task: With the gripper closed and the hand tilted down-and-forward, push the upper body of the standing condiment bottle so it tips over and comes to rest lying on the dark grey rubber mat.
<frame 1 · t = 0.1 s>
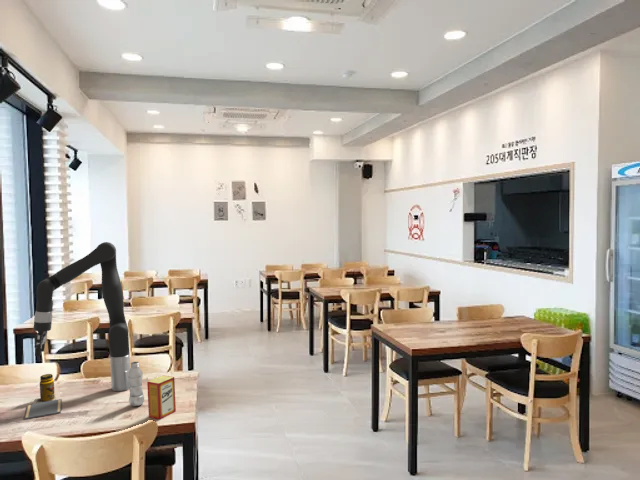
hand: (39, 353, 237), 22 cm above the table, tool pointing down, fingers open, 8 cm apart
condiment: (45, 400, 237), on the table
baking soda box: (162, 414, 215), on the table
plastic bottle: (136, 405, 227), on the table
mat: (43, 409, 225), on the table
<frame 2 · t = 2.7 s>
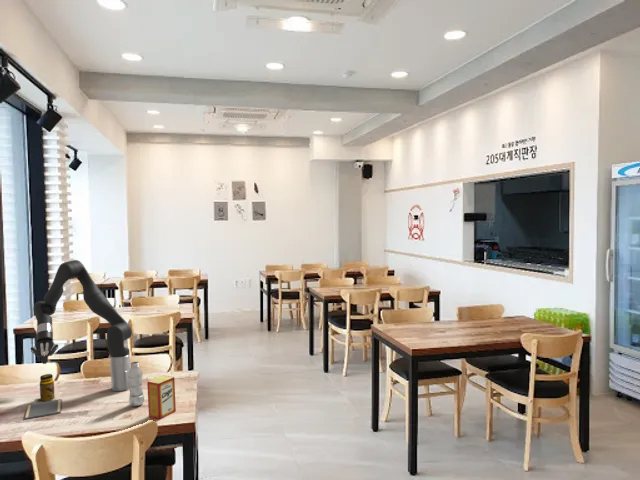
hand: (44, 363, 245), 15 cm above the table, tool tilted 45°, fingers closed
nothing on the table moved.
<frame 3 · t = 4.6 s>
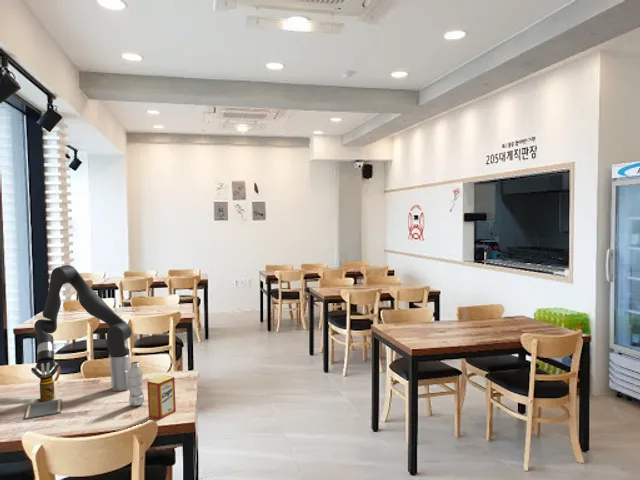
hand: (45, 384, 239), 7 cm above the table, tool tilted 45°, fingers closed
condiment: (45, 400, 236), on the table, touching gripper, mat
everything else where it was.
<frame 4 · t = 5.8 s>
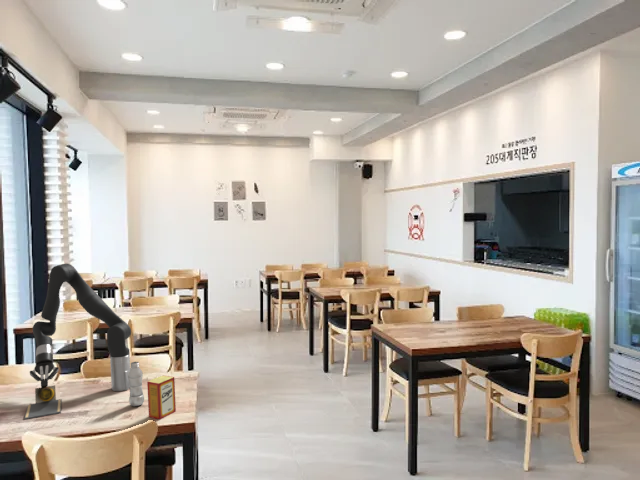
hand: (44, 387, 233), 7 cm above the table, tool tilted 45°, fingers closed
condiment: (45, 394, 234), point 3 cm above the table, touching gripper
everything else where it was.
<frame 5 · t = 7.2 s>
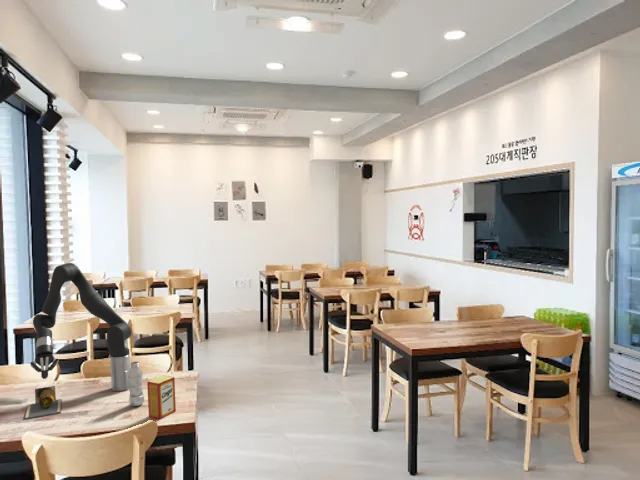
hand: (44, 378, 240), 9 cm above the table, tool tilted 45°, fingers closed
condiment: (45, 394, 233), point 4 cm above the table, touching mat
everything else where it was.
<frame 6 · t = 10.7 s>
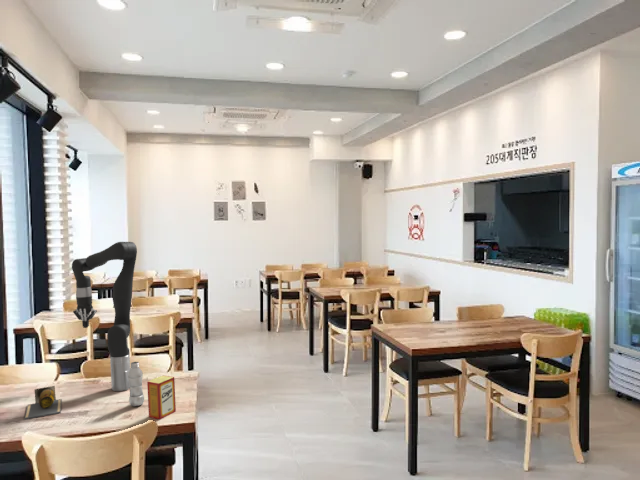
hand: (85, 327, 262), 29 cm above the table, tool pointing down, fingers closed
nothing on the table moved.
at the end: condiment tilted 90°; condiment 9.8 cm from the mat (horizontally); the gripper is holding nothing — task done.
